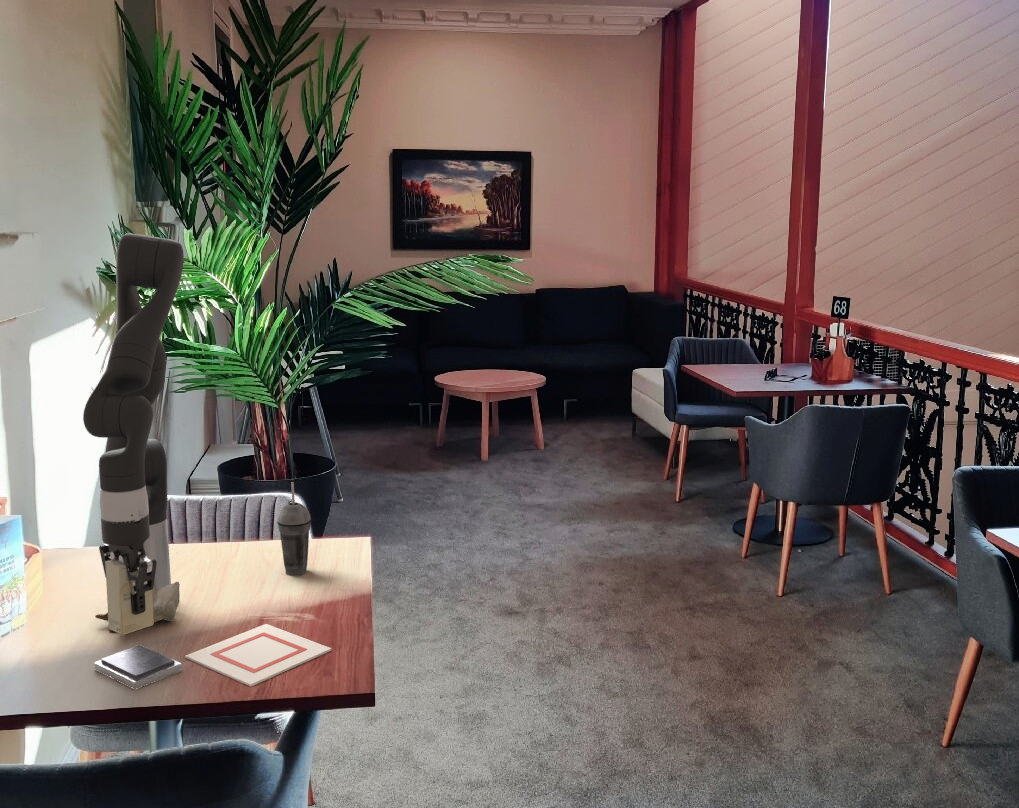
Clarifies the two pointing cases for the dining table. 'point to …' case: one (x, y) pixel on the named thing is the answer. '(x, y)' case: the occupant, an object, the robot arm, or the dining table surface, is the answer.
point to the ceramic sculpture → (160, 603)
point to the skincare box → (124, 601)
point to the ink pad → (138, 666)
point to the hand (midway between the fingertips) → (130, 608)
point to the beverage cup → (294, 536)
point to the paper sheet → (258, 654)
